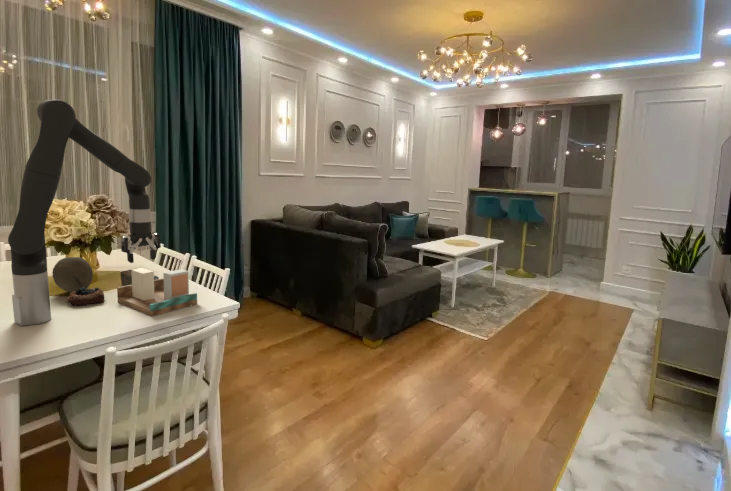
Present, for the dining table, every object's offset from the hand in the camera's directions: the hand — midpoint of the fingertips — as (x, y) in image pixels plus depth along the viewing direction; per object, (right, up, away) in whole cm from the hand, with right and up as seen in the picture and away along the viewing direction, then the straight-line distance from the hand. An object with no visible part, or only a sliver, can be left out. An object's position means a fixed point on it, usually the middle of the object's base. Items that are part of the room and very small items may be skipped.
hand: (142, 260), depth 163 cm
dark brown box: (-13, -13, +23) cm, 29 cm away
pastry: (-22, -17, 0) cm, 27 cm away
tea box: (-1, -15, +3) cm, 15 cm away
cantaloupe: (-34, -14, +9) cm, 38 cm away
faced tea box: (+12, -15, +4) cm, 20 cm away
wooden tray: (+5, -17, +3) cm, 18 cm away
